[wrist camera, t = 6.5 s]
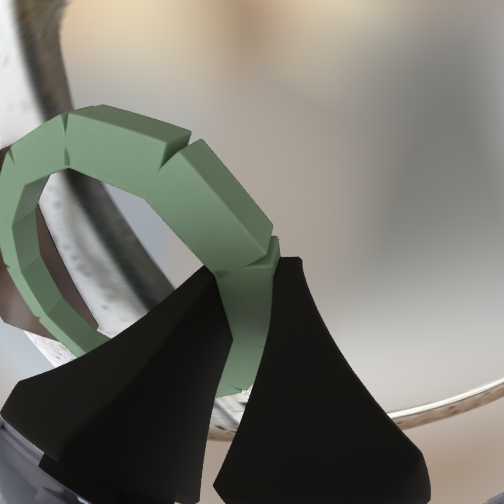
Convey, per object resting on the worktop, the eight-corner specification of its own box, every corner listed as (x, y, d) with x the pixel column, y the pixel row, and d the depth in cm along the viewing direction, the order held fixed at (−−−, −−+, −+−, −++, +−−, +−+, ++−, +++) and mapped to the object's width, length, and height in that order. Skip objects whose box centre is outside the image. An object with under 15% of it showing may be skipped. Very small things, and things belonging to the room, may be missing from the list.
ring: (292, 384, 12) (289, 412, 11) (88, 355, 15) (77, 372, 14) (253, 57, 6) (239, 49, 4) (-8, 165, 9) (-30, 178, 7)
